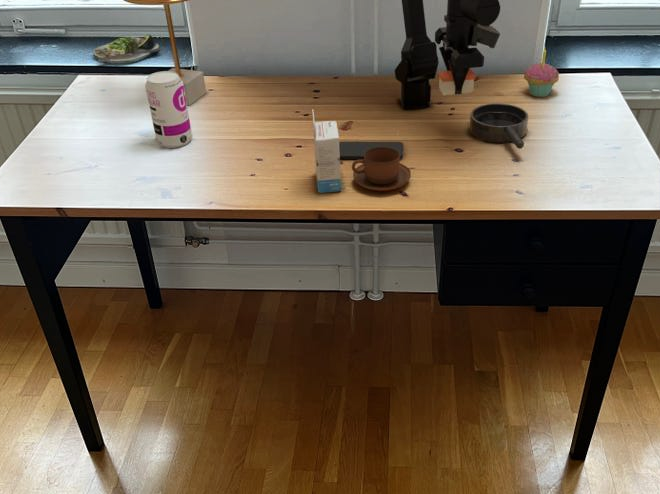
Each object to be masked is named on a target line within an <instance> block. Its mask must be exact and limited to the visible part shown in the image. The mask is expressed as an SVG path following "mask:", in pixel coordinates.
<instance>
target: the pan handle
mask: <svg viewBox="0 0 660 494" xmlns="http://www.w3.org/2000/svg"><path fill="white" fill-rule="evenodd" d="M505 132H506V134H507V135H508V136H509V138H510V139H511V140H512V142H511V143H512V144H514V146H515V147H516V148H517V149H521V150H522V149H523V148H524V146H525V142H524V141H523V140H522V137H521V138H520V137H519V136H518V135H517V133H516V132H515V131H514V130H513V128H512V127H507V128H506V129H505Z"/></svg>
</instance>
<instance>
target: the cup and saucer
mask: <svg viewBox="0 0 660 494" xmlns="http://www.w3.org/2000/svg"><path fill="white" fill-rule="evenodd" d="M400 161H401V159H400V154H399V152H398V151H397V150H395V149H393V148H389V147H375V148H371V149H369V150H367V151H366V152H365V153H364V159H355V160H354V161H353V162H352V164H351V170H352V171H353V172H352V178H353V180H354V182H355V183H356V184H358V185H359V186H361V188H365V189H367V190H369V191H378V192H380V191H381V192H383V191H384V192H385V191H386V192H387V191H393V190H396V189H398V188H399V189H400V187H403V186H404V185H406V184H407V183H408V182H409V181H410V179H411V175H412V173H411V172H412V171H411V170H410V168H409V167H408V166H406V165H405V164H403V163H401V162H400ZM357 164H360V165H359V166H356V165H357Z"/></svg>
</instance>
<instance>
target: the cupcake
mask: <svg viewBox="0 0 660 494" xmlns="http://www.w3.org/2000/svg"><path fill="white" fill-rule="evenodd" d="M546 56H547V50H546V47H544V49H543V51H542V59H541V62H540V63H535V64H532V65H531V66H529V67H527V68H526V69H525V71H524V74H523V79H524V80H525V81H526V82H527V84H528V89H529V94H530V95H531V96H533V97H536V98H537V97H538V98H545V97H547V96H549V95H550V93H551V91H552V89H553V87H554V85H555V83H557V82H559V79H560V77H559V75H560V72H559V70H558V69H557V68H556V67H555V66H553V65H551V64H549V63H546V62H545V61H546Z"/></svg>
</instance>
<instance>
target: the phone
mask: <svg viewBox="0 0 660 494" xmlns="http://www.w3.org/2000/svg"><path fill="white" fill-rule="evenodd" d="M375 147H389V148H393V149H395V150H397V151H398V152H399V154H400V160H401V159H402V158H403V156H404V142H402V141H339V151H340V160H364V153H365V152H366V151H367V150H369V149H371V148H375Z"/></svg>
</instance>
